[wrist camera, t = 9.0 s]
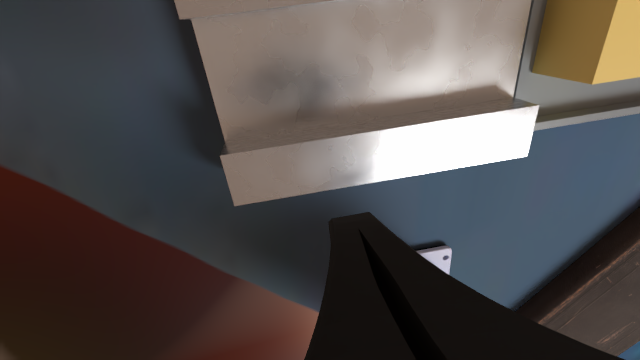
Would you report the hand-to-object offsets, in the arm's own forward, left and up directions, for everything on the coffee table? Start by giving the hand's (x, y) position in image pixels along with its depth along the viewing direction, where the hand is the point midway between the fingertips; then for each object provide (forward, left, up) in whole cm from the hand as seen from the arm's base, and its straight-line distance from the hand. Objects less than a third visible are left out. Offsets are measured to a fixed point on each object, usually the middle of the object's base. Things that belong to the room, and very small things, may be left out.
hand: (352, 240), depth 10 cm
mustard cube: (+4, -16, -10) cm, 19 cm away
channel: (+4, -4, -10) cm, 12 cm away
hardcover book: (-21, -29, -11) cm, 38 cm away
